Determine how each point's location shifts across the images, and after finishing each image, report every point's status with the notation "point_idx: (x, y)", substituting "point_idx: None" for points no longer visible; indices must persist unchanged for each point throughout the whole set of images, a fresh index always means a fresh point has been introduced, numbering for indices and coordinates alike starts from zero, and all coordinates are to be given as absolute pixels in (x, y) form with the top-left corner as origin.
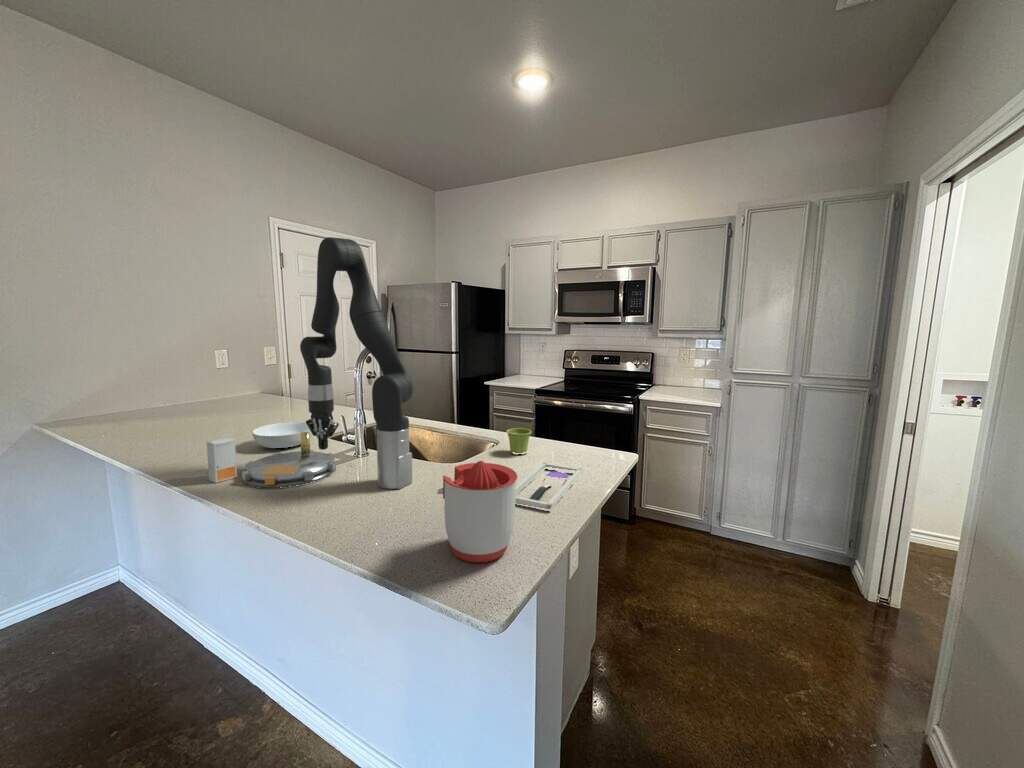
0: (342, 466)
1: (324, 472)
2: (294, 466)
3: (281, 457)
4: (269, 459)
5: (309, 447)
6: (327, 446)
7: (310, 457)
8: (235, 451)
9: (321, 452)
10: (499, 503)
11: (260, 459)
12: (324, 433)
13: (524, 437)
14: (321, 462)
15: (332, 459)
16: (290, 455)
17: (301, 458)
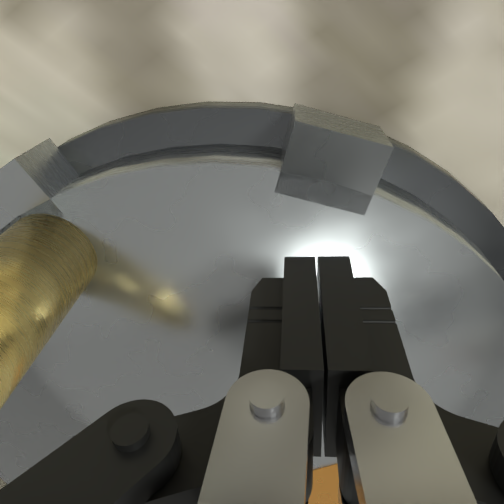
0: (497, 121)
1: None
2: (326, 475)
3: (53, 407)
4: (44, 454)
5: (59, 272)
6: (381, 292)
7: (240, 324)
8: None
9: (177, 167)
10: None
11: (4, 469)
12: (304, 450)
13: None
14: (450, 365)
15: (472, 250)
16: (48, 358)
17: (200, 368)
